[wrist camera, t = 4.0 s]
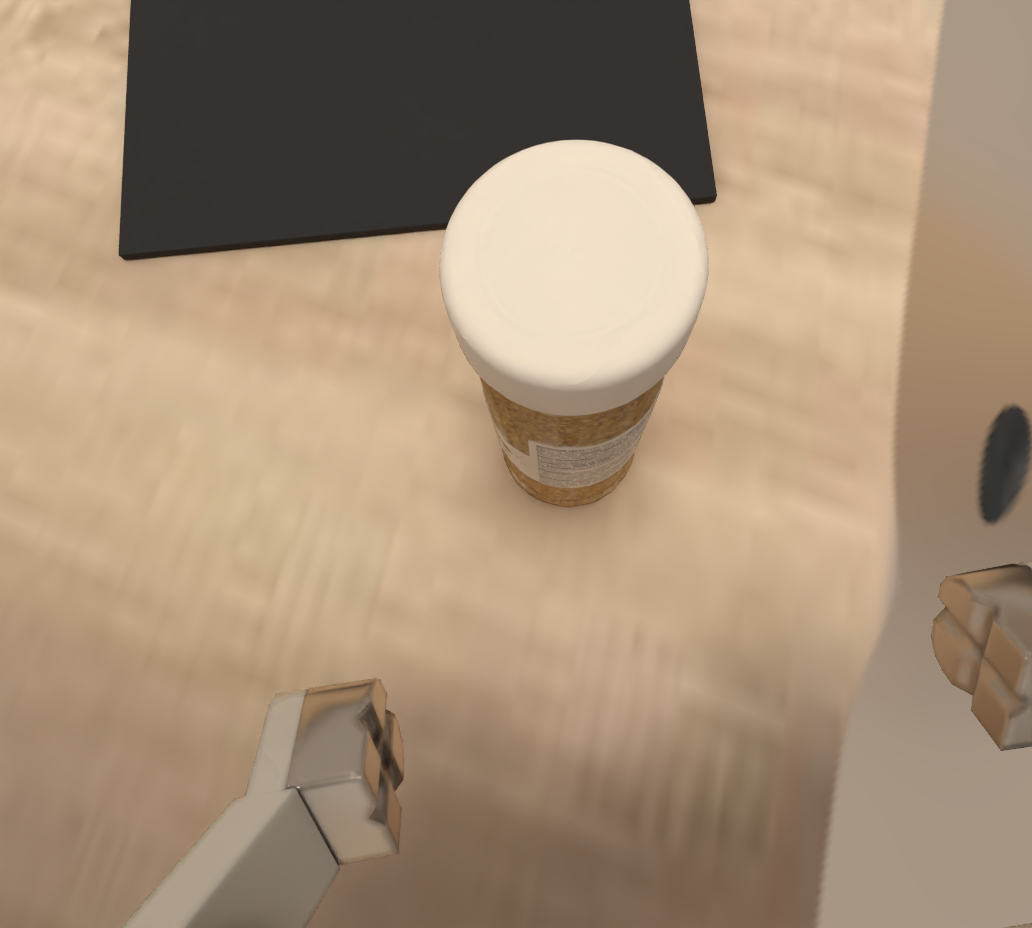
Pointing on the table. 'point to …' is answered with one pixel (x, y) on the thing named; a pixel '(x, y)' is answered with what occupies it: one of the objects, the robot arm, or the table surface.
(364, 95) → the desk pad
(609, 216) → the sprinkles bottle
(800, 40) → the table surface
